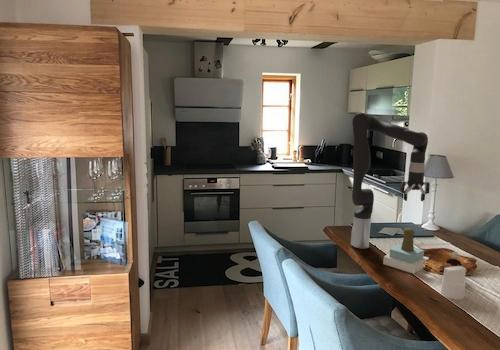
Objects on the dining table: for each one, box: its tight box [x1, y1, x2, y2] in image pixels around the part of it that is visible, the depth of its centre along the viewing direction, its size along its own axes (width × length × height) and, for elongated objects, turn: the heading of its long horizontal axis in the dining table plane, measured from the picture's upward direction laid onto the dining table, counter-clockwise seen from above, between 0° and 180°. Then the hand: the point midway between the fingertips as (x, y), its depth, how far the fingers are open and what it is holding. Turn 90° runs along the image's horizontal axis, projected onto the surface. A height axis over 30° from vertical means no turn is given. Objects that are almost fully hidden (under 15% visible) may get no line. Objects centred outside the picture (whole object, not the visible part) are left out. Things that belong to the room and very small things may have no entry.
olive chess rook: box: [401, 227, 415, 252], centre depth 204 cm, size 6×6×11 cm
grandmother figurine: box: [443, 251, 463, 267], centre depth 190 cm, size 8×4×13 cm, turn 71°
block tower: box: [382, 243, 430, 275], centre depth 205 cm, size 16×16×8 cm
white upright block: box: [440, 265, 467, 300], centre depth 173 cm, size 9×9×12 cm
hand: (413, 200), depth 215 cm, fingers open, 8 cm apart
